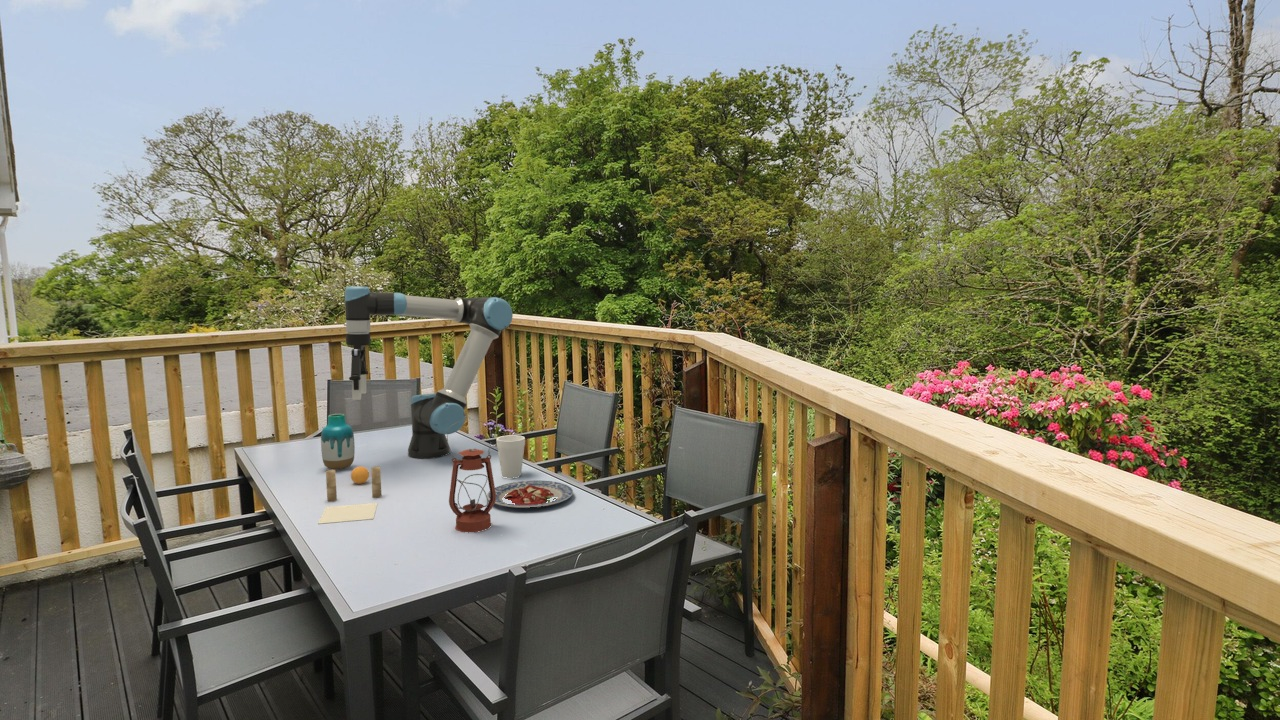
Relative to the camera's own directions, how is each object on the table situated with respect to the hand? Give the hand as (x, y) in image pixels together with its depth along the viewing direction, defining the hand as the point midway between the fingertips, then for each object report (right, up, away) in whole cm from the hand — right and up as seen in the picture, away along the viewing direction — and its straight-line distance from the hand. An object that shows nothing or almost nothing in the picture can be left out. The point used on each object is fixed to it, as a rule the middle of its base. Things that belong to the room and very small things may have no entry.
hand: (359, 396), depth 227 cm
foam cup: (+50, -27, +2) cm, 57 cm away
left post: (+1, -30, -24) cm, 38 cm away
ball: (+3, -25, -7) cm, 26 cm away
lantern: (+49, -33, -45) cm, 74 cm away
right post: (+14, -29, -20) cm, 38 cm away
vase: (-11, -26, +10) cm, 30 cm away
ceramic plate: (+61, -30, -22) cm, 71 cm away
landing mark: (+12, -31, -35) cm, 48 cm away
